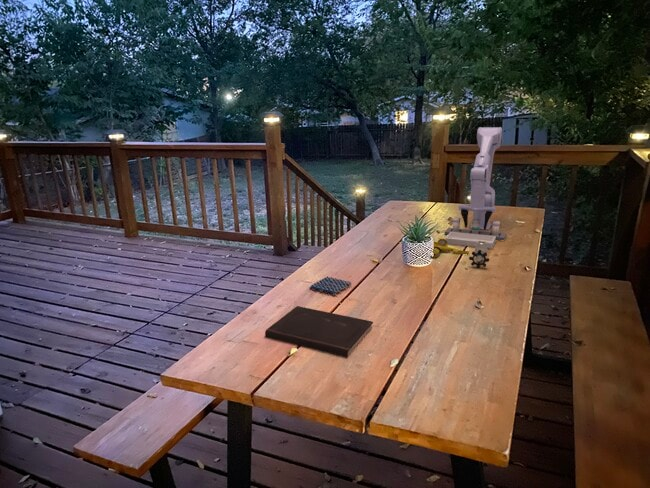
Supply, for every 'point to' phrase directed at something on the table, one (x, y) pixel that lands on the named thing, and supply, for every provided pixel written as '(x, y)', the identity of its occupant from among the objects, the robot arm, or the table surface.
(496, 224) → the cylinder
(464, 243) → the tray
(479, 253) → the valve
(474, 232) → the marked cartridge
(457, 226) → the cartridge
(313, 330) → the hardcover book
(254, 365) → the table surface
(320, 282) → the woven mat
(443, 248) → the sprinkler
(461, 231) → the holder
